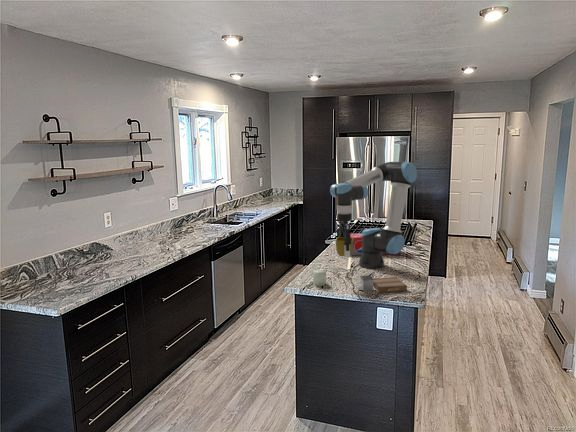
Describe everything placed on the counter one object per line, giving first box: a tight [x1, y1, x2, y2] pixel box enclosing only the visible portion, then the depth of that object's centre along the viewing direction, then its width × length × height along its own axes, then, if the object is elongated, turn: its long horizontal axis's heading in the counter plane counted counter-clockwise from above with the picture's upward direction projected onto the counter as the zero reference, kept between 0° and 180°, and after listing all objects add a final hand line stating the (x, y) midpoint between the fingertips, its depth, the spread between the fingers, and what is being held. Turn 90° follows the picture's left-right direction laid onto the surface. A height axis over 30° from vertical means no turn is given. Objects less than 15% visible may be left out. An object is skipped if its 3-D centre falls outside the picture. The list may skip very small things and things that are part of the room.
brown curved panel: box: [373, 276, 408, 294], centre depth 217 cm, size 14×14×3 cm
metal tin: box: [360, 275, 375, 293], centre depth 215 cm, size 5×5×7 cm
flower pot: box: [335, 236, 353, 257], centre depth 222 cm, size 9×9×9 cm
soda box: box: [350, 233, 402, 257], centre depth 287 cm, size 40×14×13 cm, turn 80°
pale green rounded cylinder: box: [312, 269, 327, 287], centre depth 226 cm, size 7×7×7 cm
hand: (344, 253), depth 223 cm, fingers closed on flower pot, 10 cm apart
